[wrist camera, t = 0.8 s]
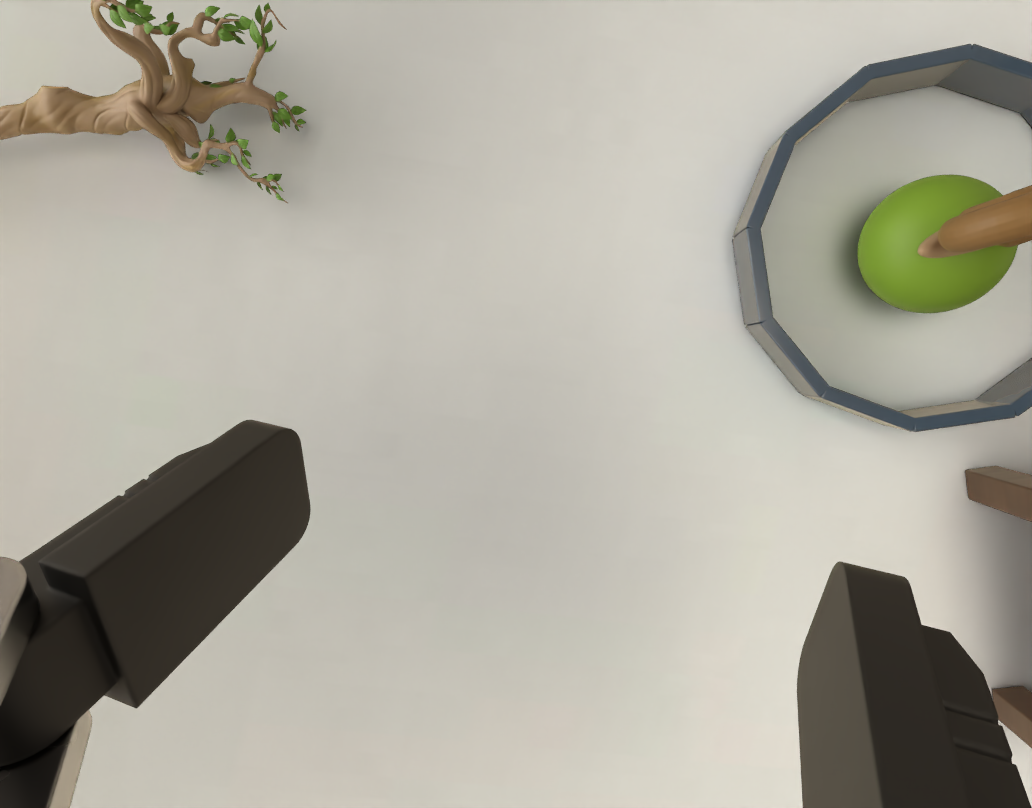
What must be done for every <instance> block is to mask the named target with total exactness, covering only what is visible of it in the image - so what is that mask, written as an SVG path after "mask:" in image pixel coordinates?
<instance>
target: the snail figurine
mask: <svg viewBox="0 0 1032 808" xmlns="http://www.w3.org/2000/svg"><path fill="white" fill-rule="evenodd" d="M1031 240H1032V185H1031V186H1028V187H1025V188H1022V189H1020V190H1017V191H1014V192H1011V193H1009V194H1006V195H1002V194H1001V193H1000V192H999V191H997V190H996V189H995V188H993V187H992V186H990V185H988V184H987V183H985V182H982V181H980V180H977V179H974V178H971V177H967V176H961V175H937V176H931V177H926V178H922V179H919V180H916V181H914V182H911V183H909V184H907V185H905V186H903V187H901V188H899V189H897V190H896V191H894V192H893V193H891V194H890V195H889V196H887V197H886V198H885V199H884V200H883V201H882V202H881V203H880V204H879V205H878V206H877V207H876V208H875V209H874V210H873V212H872V213H871V214H870V216H869V217H868V219H867V221H866V223H865V225H864V227H863V229H862V232H861V234H860V238H859V243H858V252H857V254H858V264H859V268H860V271H861V274H862V276H863V279H864V280H865V282H866V284H867V285H868V287H869V288H870V289H871V290H872V291H873V292H874V293H875V294H876V295H877V296H878V297H879V298H880V299H882V300H883V301H885V302H886V303H888V304H890V305H892V306H894V307H896V308H899V309H902V310H906V311H910V312H916V313H938V312H945V311H949V310H953V309H957V308H960V307H962V306H965V305H967V304H969V303H971V302H973V301H975V300H977V299H979V298H980V297H982V296H983V295H985V294H986V293H987V292H989V291H990V290H991V289H992V288H993V287H994V286H995V285H996V284H997V283H998V282H999V281H1000V280H1001V279H1002V278H1003V276H1004V275H1005V274H1006V272H1007V271H1008V269H1009V267H1010V266H1011V264H1012V262H1013V259H1014V257H1015V254H1016V251H1017V247H1018V245H1019V244H1022V243H1025V242H1028V241H1031Z"/></svg>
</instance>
